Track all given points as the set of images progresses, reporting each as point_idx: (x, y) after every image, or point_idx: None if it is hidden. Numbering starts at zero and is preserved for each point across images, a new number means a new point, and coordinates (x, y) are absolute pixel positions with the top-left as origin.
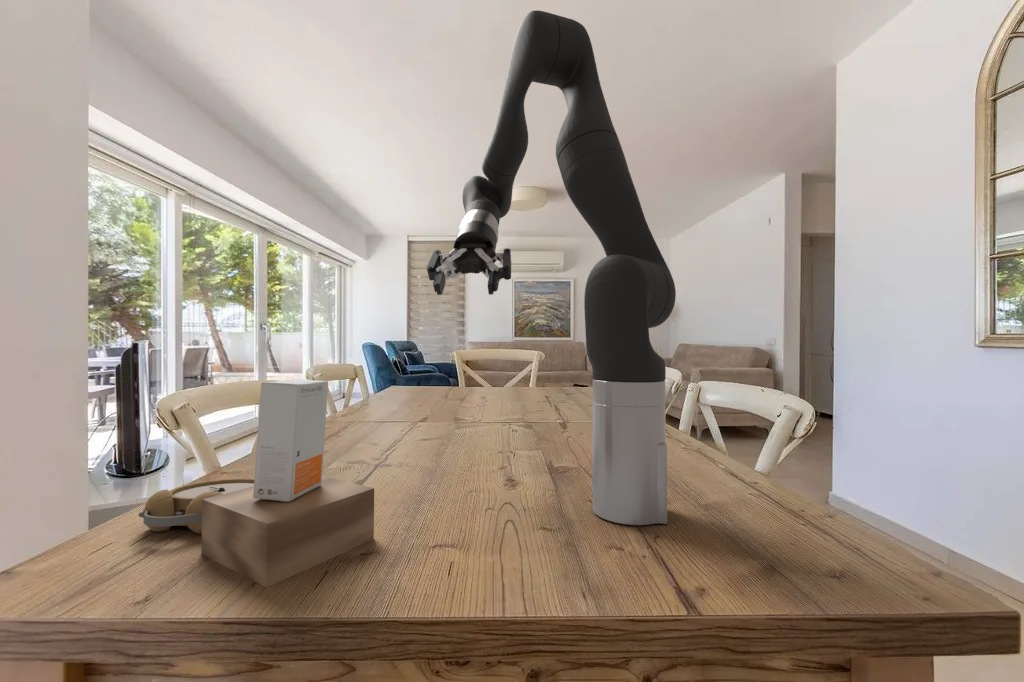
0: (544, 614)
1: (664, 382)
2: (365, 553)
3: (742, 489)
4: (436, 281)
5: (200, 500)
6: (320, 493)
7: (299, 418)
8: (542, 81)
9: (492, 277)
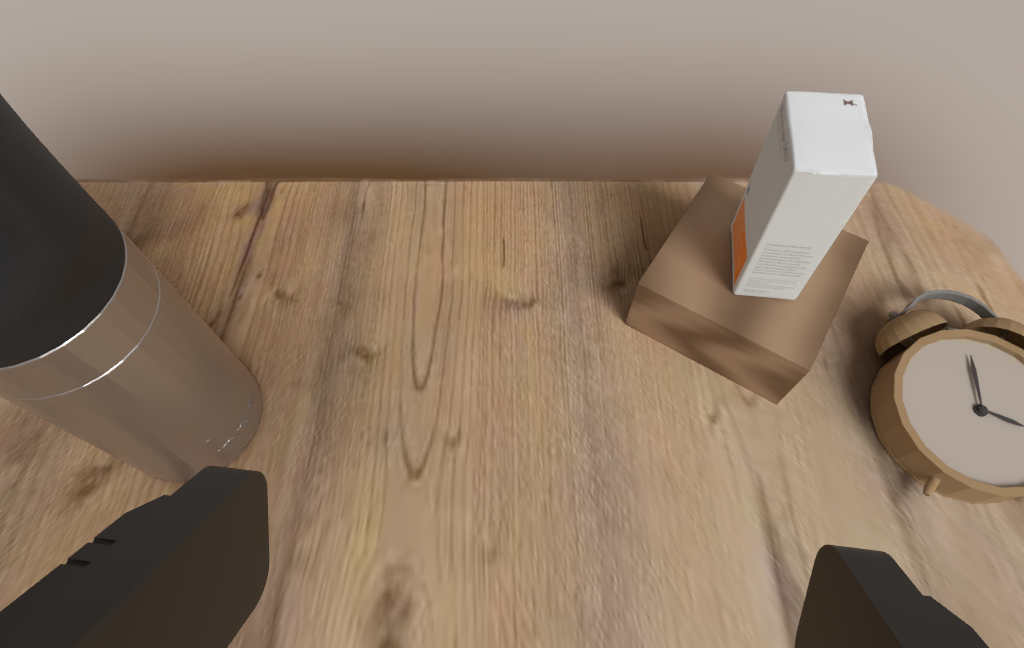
0: (409, 183)
1: None
2: (619, 285)
3: None
4: (914, 588)
5: (924, 311)
6: (711, 262)
7: (765, 145)
8: None
9: (134, 531)
